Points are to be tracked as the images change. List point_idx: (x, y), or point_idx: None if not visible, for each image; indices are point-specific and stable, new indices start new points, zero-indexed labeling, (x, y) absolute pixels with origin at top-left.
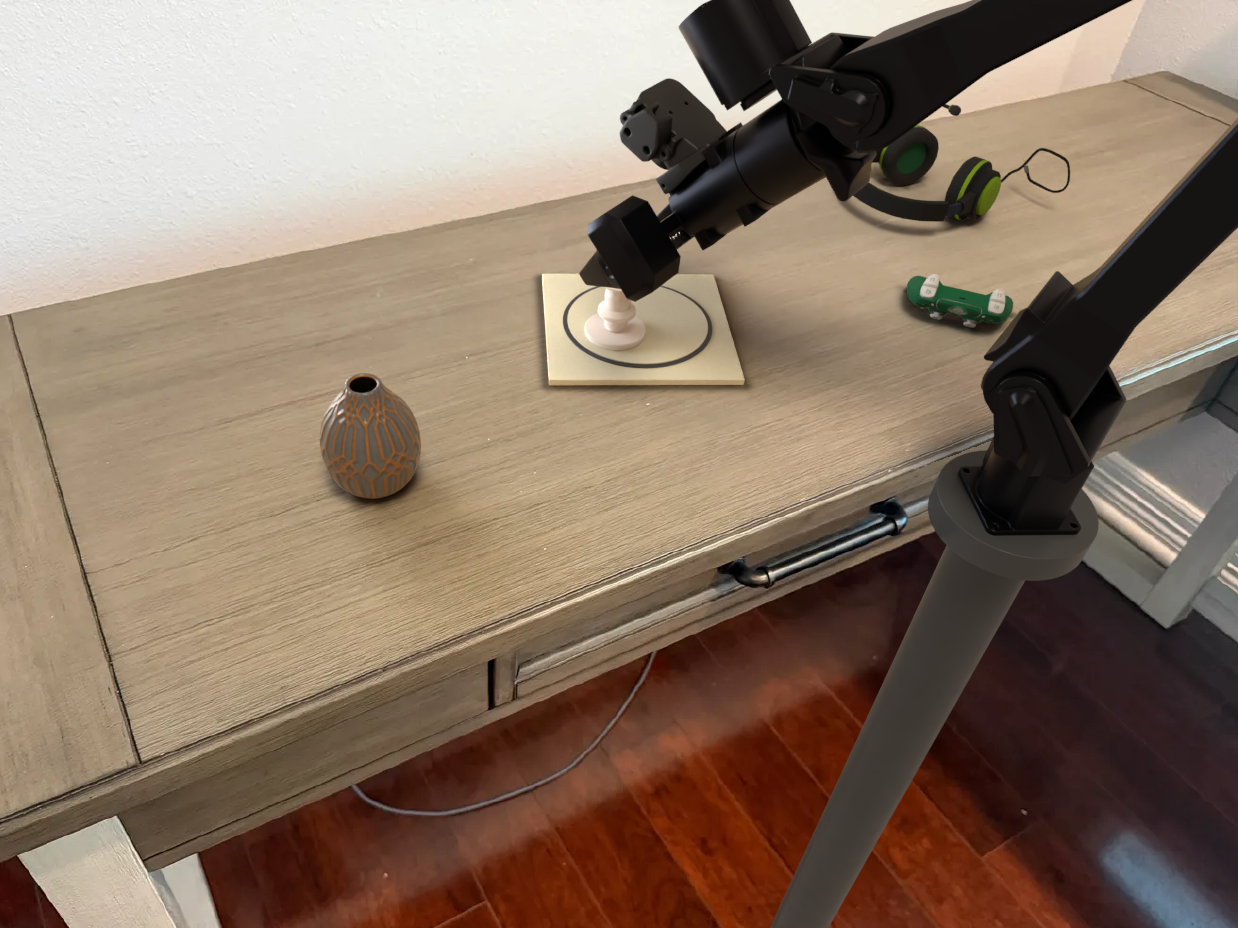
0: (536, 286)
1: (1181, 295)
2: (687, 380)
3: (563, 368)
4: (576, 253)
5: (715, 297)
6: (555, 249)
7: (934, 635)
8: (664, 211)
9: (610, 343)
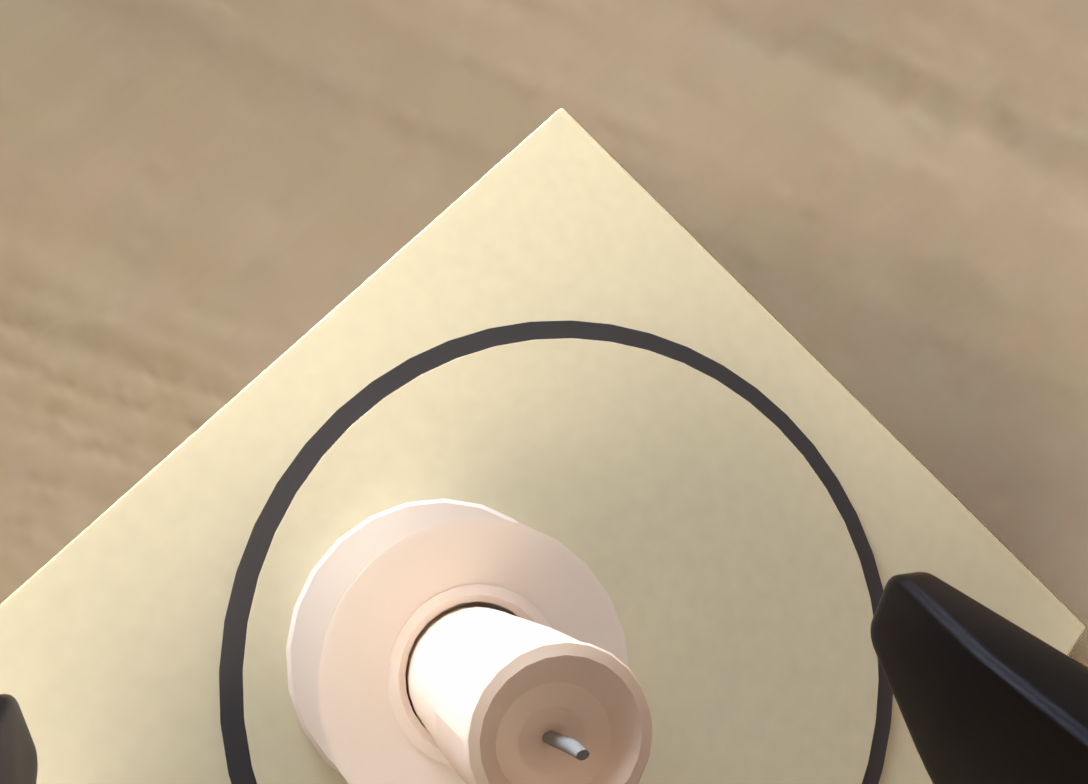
0: (500, 135)
1: None
2: None
3: (38, 667)
4: (790, 108)
5: None
6: (748, 31)
7: None
8: (1076, 750)
9: (315, 728)
